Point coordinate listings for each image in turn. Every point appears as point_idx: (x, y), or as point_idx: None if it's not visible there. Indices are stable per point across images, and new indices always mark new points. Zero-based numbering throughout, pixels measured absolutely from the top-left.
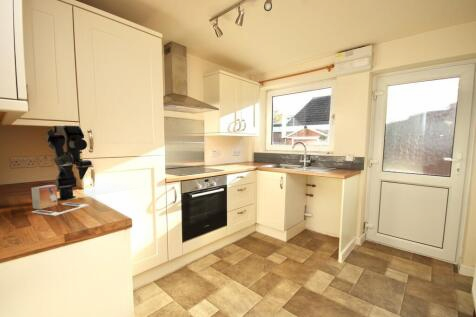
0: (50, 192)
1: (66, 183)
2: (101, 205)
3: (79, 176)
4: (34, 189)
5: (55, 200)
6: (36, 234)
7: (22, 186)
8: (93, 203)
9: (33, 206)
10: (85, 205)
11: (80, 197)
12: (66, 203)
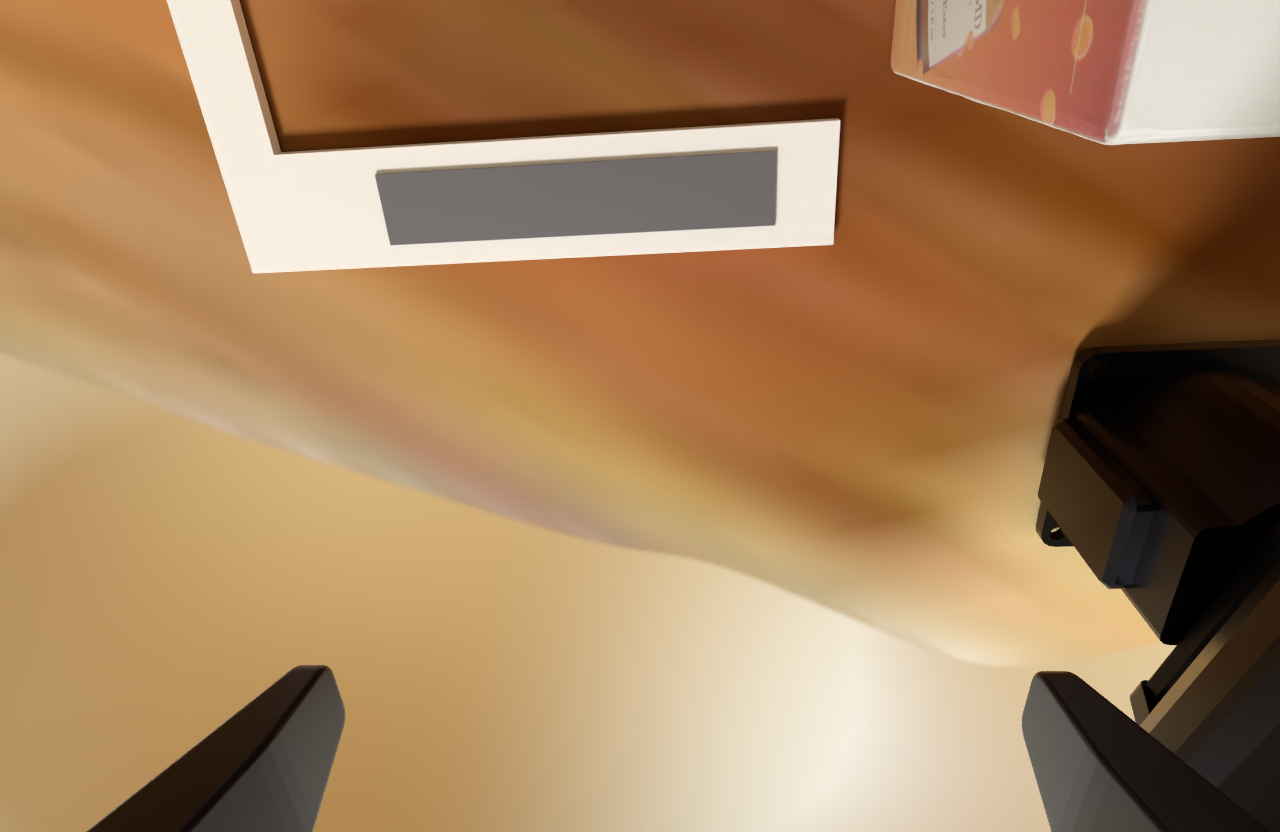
0: None
1: (1252, 616)
2: (80, 342)
3: (239, 757)
4: None
5: (923, 33)
6: None
7: None
8: (332, 379)
9: None
10: (251, 218)
11: (947, 552)
12: (737, 170)
